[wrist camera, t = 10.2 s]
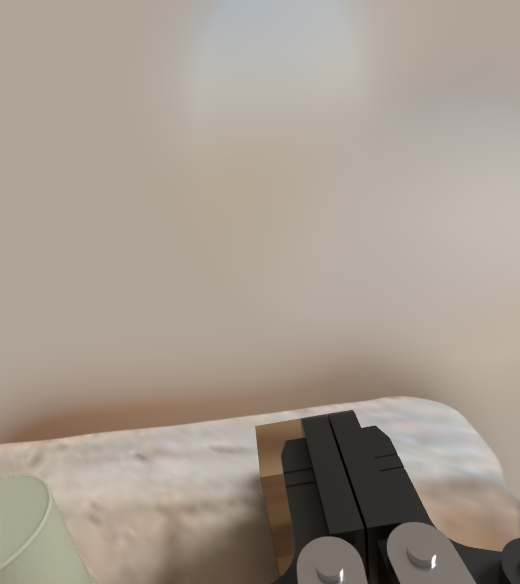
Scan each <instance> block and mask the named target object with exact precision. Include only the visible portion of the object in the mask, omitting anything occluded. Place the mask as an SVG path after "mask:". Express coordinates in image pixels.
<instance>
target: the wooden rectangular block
mask: <svg viewBox="0 0 520 584" xmlns="http://www.w3.org/2000/svg"><path fill="white" fill-rule="evenodd" d="M324 415H326V416H327V414H324ZM318 416H319V415H318ZM312 417H313V416H312ZM306 418H307V417H306ZM255 428H256V438H257V448H258V458H259V468H260V477H261V482H262V488H263V493H264V498H265V503H266V508H267V513H268V518H269V523H270V528H271V533H272V538H273V543H274V548H275V553H276V558H277V563H278V568H279V573H280V577H281V576H282V575H283V574H284V573H285V572H286V571H287V570H288V568H289V566H290V565H291V563H292V560H293V558H294V554H295V542H294V536H293V530H292V524H291V518H290V512H289V506H288V500H287V494H286V487H285V481H284V474H283V468H282V461H281V453H282V450H283V447H284V444H285V441H286V440H292V439H298V438H302V430H301V420H300V419H295V420H289V421H283V422H277V423H271V424H266V425H260V426H255Z"/></svg>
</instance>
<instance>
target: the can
mask: <svg viewBox="0 0 520 584" xmlns="http://www.w3.org/2000/svg"><path fill="white" fill-rule="evenodd" d="M0 584H96V583H95V580H94V579H93V577H92V576H91V575H90V574H89V572H88V571H87V569H86V567H85V565H84V563H83V561H82V559H81V557H80V555H79V552H78V550H77V548H76V546H75V544H74V542H73V540H72V538H71V536H70V533H69V531H68V529H67V527H66V524H65V522H64V520H63V518H62V516H61V513H60V511H59V509H58V507H57V505H56V502H55V500H54V497H53V495H52V491H51V488H50V486H49V485H48V483H47V482H46V481H45V480H43V479H42V478H39V477H37V476H34V475H25V474H22V475H12V476H7V477H3V478H0Z"/></svg>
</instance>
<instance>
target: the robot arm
mask: <svg viewBox="0 0 520 584" xmlns="http://www.w3.org/2000/svg"><path fill="white" fill-rule="evenodd" d="M300 420H301V430H302V438H298V439H292V440H286V441H285V444H284V447H283V450H282V453H281V461H282V468H283V474H284V481H285V487H286V494H287V500H288V506H289V512H290V518H291V524H292V530H293V536H294V542H295V554H294V558H293V560H292V563H291V565H290V566H289V568H288V570H287V571H286V572H285V573H284V574H283V575H282V576H281V577H280V578H279V579H277V580H276V581H274V582H273V583H271V584H520V538H518V539H514V540H512V541H510V542H509V543H508V544H506V546H505V547H504V548H503V551H502V552H498V551H492V550H485V549H478V548H472V547H468V546H464V545H461V544H459V543H456V542H454V541H452V540H451V539H449V538H447V537H446V536H445V535H444V534H443V533H442V532H441V531H440V530H438V529H437V528H436V527H435V526H434V524H433V523H432V522H431V520H430V518H429V516H428V514H427V512H426V510H425V508H424V506H423V504H422V502H421V500H420V498H419V496H418V494H417V492H416V490H415V488H414V486H413V484H412V482H411V480H410V478H409V476H408V474H407V472H406V470H405V469H404V466H403V464H402V462H401V460H400V458H399V456H398V455H397V452H396V450H395V448H394V446H393V444H392V442H391V440H390V438H389V437H388V436H387V435H386V434H385V433H383V432H382V431H381V430H380V429H379V428H378V427H377V426H370V427H364V428H361V426H360V424H359V422H358V419H357V417H356V415H355V413H354V411H353V410H349V411H343V412H336V413H330V414H327V416H326V415H319V416H313V417H307V418H301V419H300Z"/></svg>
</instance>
